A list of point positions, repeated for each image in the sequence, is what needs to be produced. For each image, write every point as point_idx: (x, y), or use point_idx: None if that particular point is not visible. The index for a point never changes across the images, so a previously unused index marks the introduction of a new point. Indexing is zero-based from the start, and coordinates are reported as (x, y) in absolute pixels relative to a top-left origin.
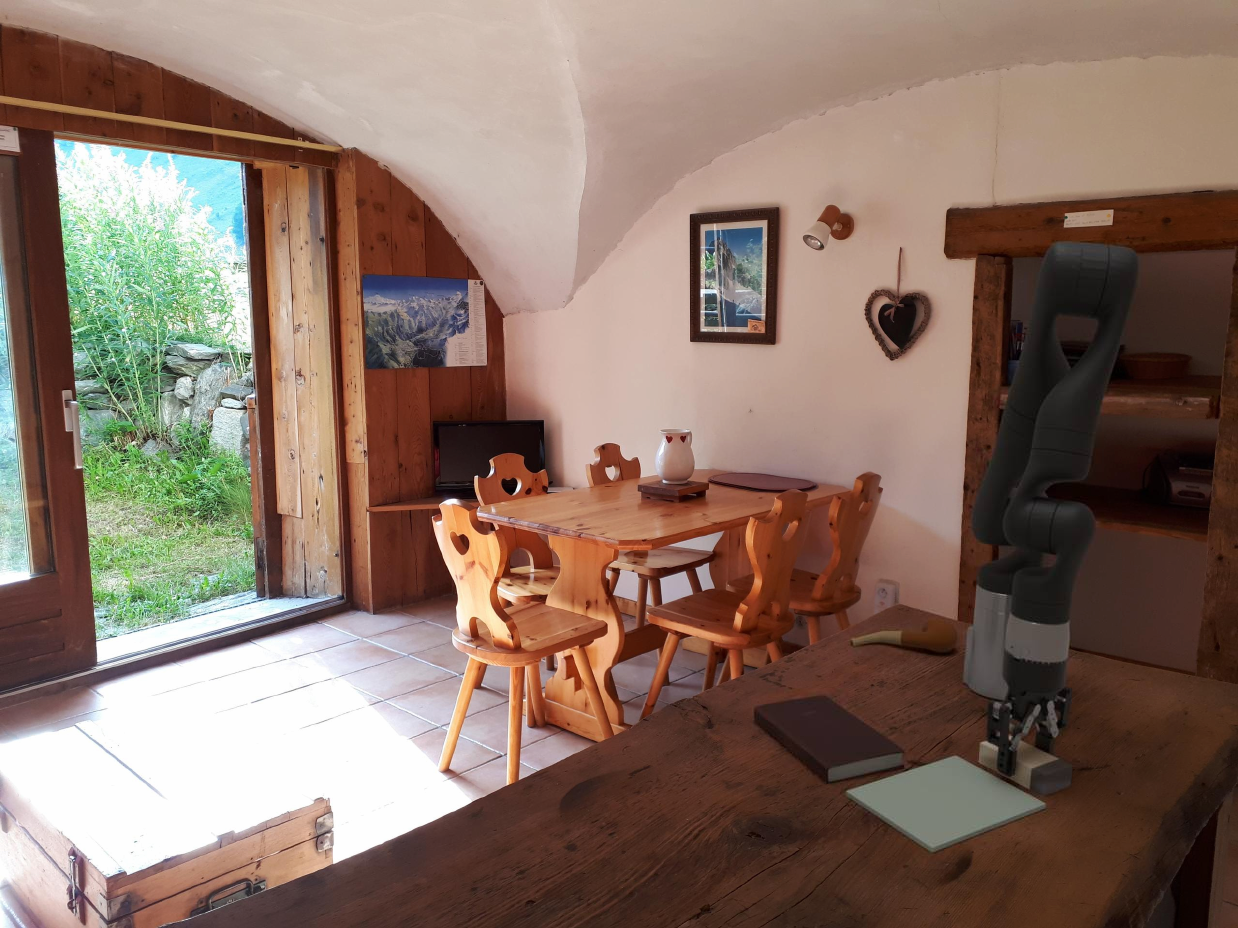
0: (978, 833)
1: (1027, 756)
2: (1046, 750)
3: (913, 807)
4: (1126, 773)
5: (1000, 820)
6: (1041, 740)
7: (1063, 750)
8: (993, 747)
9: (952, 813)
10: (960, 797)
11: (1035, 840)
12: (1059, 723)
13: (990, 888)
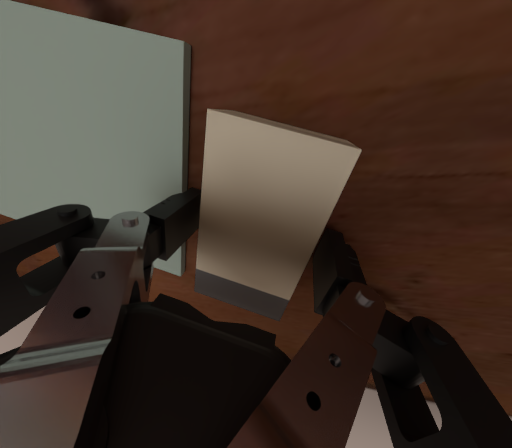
0: None
1: (242, 249)
2: (316, 274)
3: None
4: None
5: None
6: (326, 276)
7: (472, 249)
8: (215, 161)
9: (28, 186)
10: (65, 173)
11: None
12: (377, 371)
13: (20, 263)
